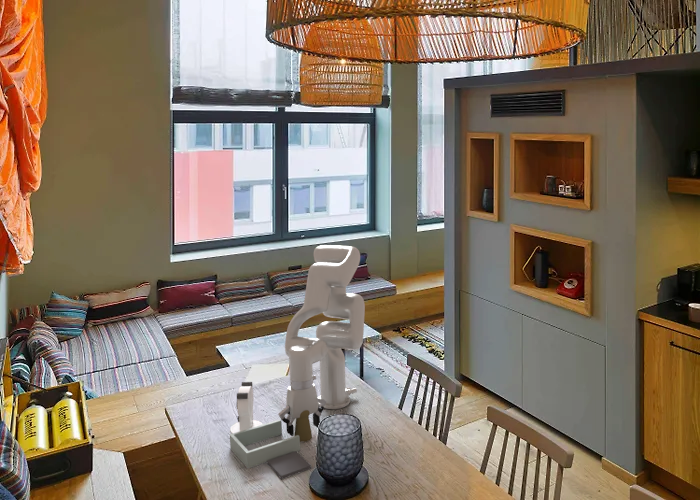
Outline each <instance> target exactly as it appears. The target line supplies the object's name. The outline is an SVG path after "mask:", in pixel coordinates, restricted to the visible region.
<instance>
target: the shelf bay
mask: <svg viewBox="0 0 700 500" xmlns="http://www.w3.org/2000/svg"><path fill="white" fill-rule="evenodd" d="M282 422H283V421H282V420H281V419H277V420H274V421H270V422H266V423H262V424H263V425H260V426H257V427H253V428H250V429H247V430H243V431H240V432H237V433H233V434H232V433H230V434H229V445H230V450H231V451H232V452H233V453H234V455H235V456H236V457H237V458H238V459H239V460H240V461H241V463H242V464H243V465H244V466H245V467H246V468H247V469H251V468H253V467H256V466H259V465H262V464H265V463H267V461H268V460H271V459H274V458H277V457H280V456H283V455H286V454H289V453H292V452H295V451H296V452H297V453H299V452H300V451H301V442H300V436H299V435H297V436H291V437H288V438H284V439H281V440H278V441H276V442H272V443H269V444H265V445H263V446H260V447H256V448H253V449H251V450H248V448H247V447H246V446H249V445H252V444H256V443H259V442H261V441H264V440H265V441H266V440H268V439H271V438H275V437H278V436H282V435H283V426H282Z"/></svg>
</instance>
